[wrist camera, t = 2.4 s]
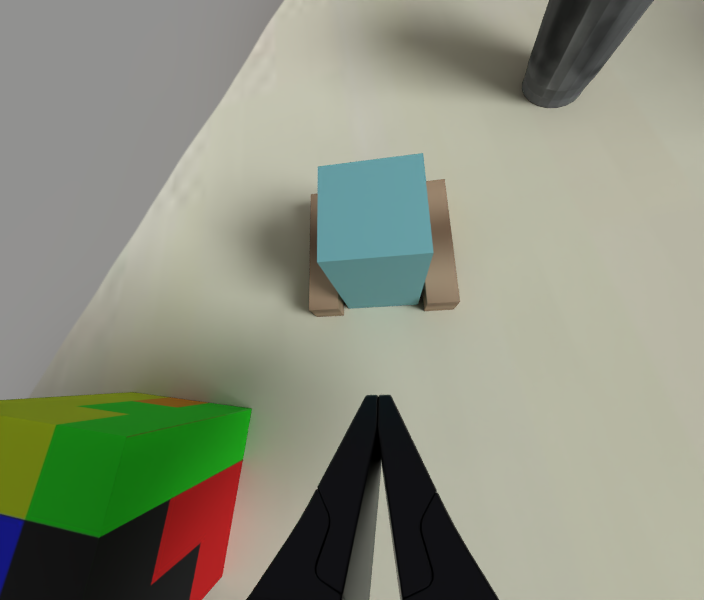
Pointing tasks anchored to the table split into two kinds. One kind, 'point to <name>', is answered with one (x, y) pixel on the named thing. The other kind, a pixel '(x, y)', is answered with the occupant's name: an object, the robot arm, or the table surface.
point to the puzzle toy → (116, 496)
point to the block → (375, 230)
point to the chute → (440, 276)
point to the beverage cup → (576, 46)
